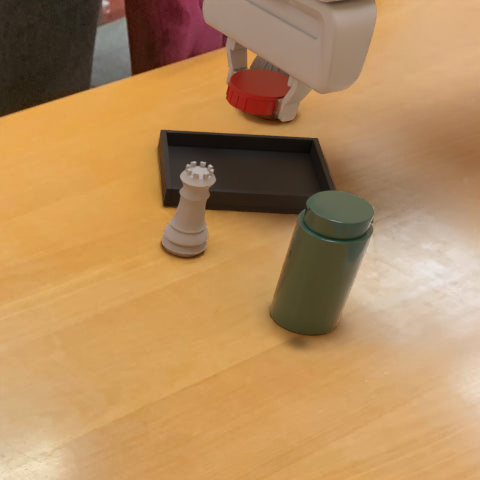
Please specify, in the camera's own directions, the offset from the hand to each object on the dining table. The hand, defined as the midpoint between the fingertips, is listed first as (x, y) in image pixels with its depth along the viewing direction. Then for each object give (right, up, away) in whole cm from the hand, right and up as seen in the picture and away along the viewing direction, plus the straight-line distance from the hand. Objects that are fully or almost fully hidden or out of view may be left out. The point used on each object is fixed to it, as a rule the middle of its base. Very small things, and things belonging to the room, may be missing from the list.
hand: (259, 102), depth 90 cm
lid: (0, +1, -1) cm, 2 cm away
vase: (+7, +6, +17) cm, 19 cm away
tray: (0, -6, +6) cm, 8 cm away
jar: (+1, -24, -10) cm, 26 cm away
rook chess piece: (-8, -16, -3) cm, 18 cm away
